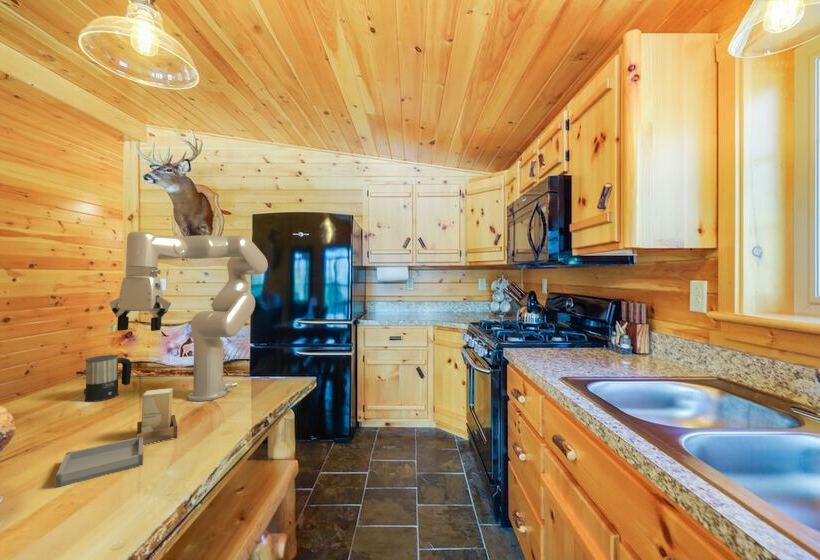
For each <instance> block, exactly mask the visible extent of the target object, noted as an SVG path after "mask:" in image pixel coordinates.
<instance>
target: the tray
mask: <svg viewBox="0 0 820 560" xmlns="http://www.w3.org/2000/svg"><path fill="white" fill-rule="evenodd" d="M139 465H142V466H143V465H144V446H143V437H139V438H137V437H133V438H129V439H124V440H119V441H115V442H110V443H105V444H101V445H96V446H95V445H94V446H93V447H87V448H82V449H78V450H73V451H69V452H65V455H64V457H63V459H62V462H61V464H60V465H59V468H58V470H57V472H56V475H55V488H60V487H64V486H67V485H68V486H69V485H72V484H76V483H80V482H83V481H87V480H88V481H89V480H91V479H95V478H98V476H99V477H103V476H106V475H105V474H107V475H111V474H115V473H118V472H121V471H122V472H123V471H125V470H130V469H133V468H132V467H134V468H136V467H135V466H138V467H140V466H139ZM129 468H130V469H129ZM110 473H111V474H110ZM102 475H103V476H102ZM79 481H80V482H79ZM75 482H76V483H75Z"/></svg>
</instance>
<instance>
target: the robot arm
mask: <svg viewBox="0 0 820 560" xmlns="http://www.w3.org/2000/svg"><path fill="white" fill-rule="evenodd" d="M126 236H127V237H126V250H125V251H126V252H125V253H126V254H125V277H123V278H122V281H121V285H120V290H119V295H118V297H117V298H116V299H114V300H113V299H112V301H110V302H109V306H110V308H111V312H112V313H113V314H115V315H114V316H115V317H116V318H117V325H116V327H117V329H116V330H117V331H118V332H119V331H127V330H129V323H130V322H129V319H130V318H129V316H128V315H129V314H130V312H149V313H150V314H151V316H152V317H151V318H150V331H151V332H156V331H160V330H161V327H162V317H164V316H165V314H167V312H169V309H170V307H171V305H172V303H171V302H170V301H168V300H166V299H164V298H163V297H164V295H163V286H162V280H161V278H158V275H160V274H161V270H160V269H158V267H159V265H158V264H159V260H178V259H190V260H191V259H192V260H193V259H194V260H197V259H198V260H201V259H218V258H219V259H221V258H229V259H228V260H227V264H226V266H227V272H228V281H227V282H226V284H225V285H224V286H223V288H222V289H220V291H219V293H217V295H216V296H215V297H214V299H213V300H212V303H211V309H212V310H204V311H200V312H198V313H196V314H195V315H194V316H193V317H192V319H191V321H190V330H191V334H192V335H191V336H192V340H193V384H192V385H193V386H192V387H193V391H191V392H190V393H188V395H187V398H188V400H189V401H192V402H204V401H211V400H212V401H213V400H216V399H219V398H222V397H224V396H226V395H228V389H229V388H231V389H232V388H236V387H237V386H238V383H237V381H227V382H225V380H224V344H223V341H222V339H221V338H232V337H235V336H237V334H238V333H239V332H240V331H241V330H242V328H243V327H244V326H245V324H246V323H247V321H248V320H249V318H250V317H251V316H252V314H253V312H254V311H255V307H256V299H255V296H254V295H253V294H252V293H251V292H249V287H250V286H249V283H248V281H247V278H246V276H247V275H248V276H249V275H258V276H259V275H263V274H264V273H266V272H267V270H268V268H269V264H268V259H267V258H266V256H265V255H264V253H263V252H262V251H261V250H260V249H259V248H258V247H257V245H256V244H255V243H254V242H253V241H252V240H251V239H250V238H249V237H247V236H246V235H201V234H200V235H187V236H175V235H162V234H161V235H160V234H155V233H153V232H146V231H130V232H129V233H127V235H126Z"/></svg>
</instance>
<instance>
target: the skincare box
mask: <svg viewBox="0 0 820 560" xmlns="http://www.w3.org/2000/svg"><path fill="white" fill-rule="evenodd" d="M173 391H174V388H159V389H151V390H146V391H144V393H143V394H142V405H141V407H142V408H141V421H142V425H141V433H146V432H151V431H155V430H160V429H165V428H169V427H171V415H172V414H173V413H172V412H173V411H172V410H173V395H174V394H173ZM141 433H140V434H141Z"/></svg>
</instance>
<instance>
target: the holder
mask: <svg viewBox="0 0 820 560" xmlns="http://www.w3.org/2000/svg"><path fill="white" fill-rule="evenodd" d="M136 423H137V425H136V427H137V428H136V429H137V430H136V431H137V432H136V438H139V437H143V445H145V446H147V445H146V444H149V445H151V444H150V443H153V444H155V443H154V442H157V443H159V442H158V441H162V440H166V439H170V440H172V439H171V438H175V439H178V423H177V420H176V414H173V415H171V426H172V427H169V428H165V429H160V430H155V431H151V432H146V433H141V425H142V420H141V421H137V422H136ZM138 433H139V434H138ZM166 441H167V440H166ZM162 442H163V441H162Z"/></svg>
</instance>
